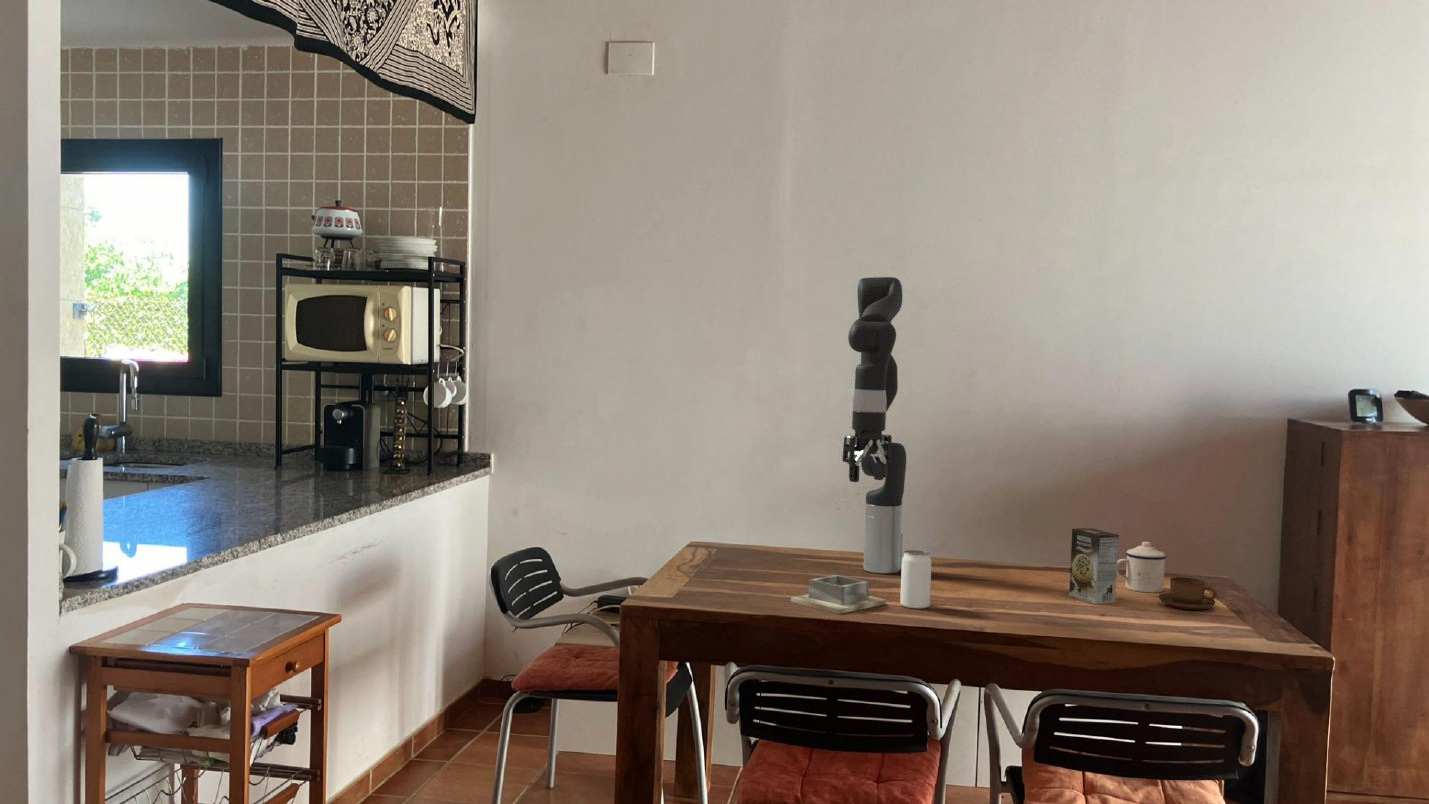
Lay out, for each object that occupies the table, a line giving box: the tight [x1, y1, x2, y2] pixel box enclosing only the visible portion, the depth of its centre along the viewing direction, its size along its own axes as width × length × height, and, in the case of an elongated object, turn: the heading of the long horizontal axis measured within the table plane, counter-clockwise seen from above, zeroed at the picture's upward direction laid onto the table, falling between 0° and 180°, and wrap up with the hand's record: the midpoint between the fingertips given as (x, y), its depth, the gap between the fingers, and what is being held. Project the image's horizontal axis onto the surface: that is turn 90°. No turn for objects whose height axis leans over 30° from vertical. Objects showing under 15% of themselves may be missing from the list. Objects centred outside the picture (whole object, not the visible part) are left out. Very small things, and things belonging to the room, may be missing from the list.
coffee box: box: [1068, 527, 1120, 605], centre depth 260 cm, size 9×6×16 cm
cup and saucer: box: [1158, 576, 1218, 611], centre depth 256 cm, size 12×12×6 cm
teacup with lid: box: [1117, 541, 1167, 594], centre depth 274 cm, size 12×9×12 cm
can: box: [899, 549, 932, 610], centre depth 248 cm, size 6×6×12 cm
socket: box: [790, 574, 887, 615], centre depth 249 cm, size 16×14×5 cm
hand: (866, 480), depth 254 cm, fingers open, 8 cm apart
